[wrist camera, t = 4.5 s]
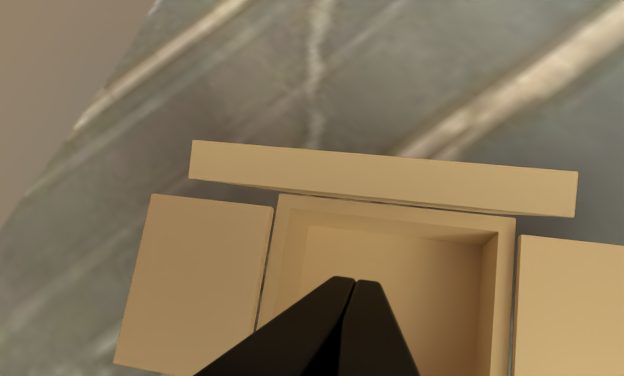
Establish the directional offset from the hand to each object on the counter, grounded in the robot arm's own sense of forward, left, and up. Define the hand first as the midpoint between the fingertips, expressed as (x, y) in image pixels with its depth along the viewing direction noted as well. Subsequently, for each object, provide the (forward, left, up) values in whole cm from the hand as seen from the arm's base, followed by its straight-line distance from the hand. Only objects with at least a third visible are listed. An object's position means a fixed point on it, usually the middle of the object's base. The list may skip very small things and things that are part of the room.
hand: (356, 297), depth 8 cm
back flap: (+3, +2, -7) cm, 8 cm away
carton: (-1, 0, -12) cm, 12 cm away
